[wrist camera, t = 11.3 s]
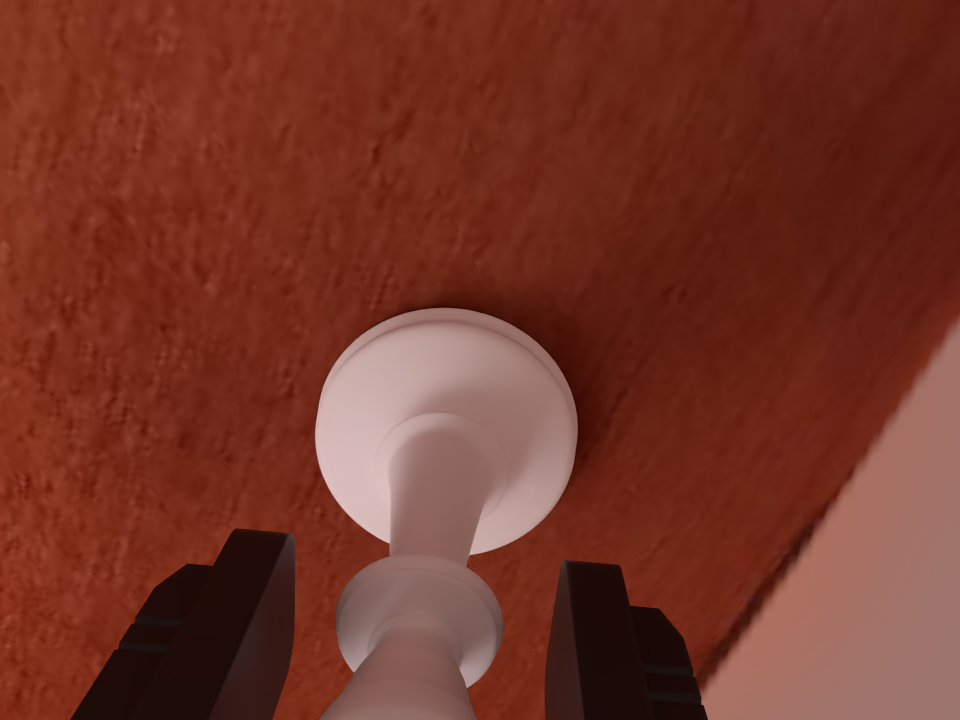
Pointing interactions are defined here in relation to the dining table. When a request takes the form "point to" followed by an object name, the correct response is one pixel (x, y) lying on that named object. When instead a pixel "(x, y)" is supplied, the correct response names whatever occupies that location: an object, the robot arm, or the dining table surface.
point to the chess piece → (436, 497)
